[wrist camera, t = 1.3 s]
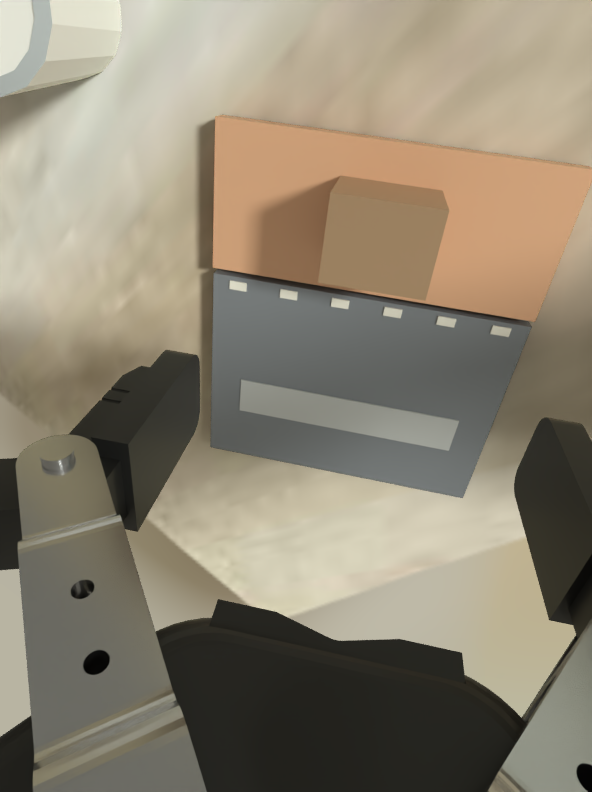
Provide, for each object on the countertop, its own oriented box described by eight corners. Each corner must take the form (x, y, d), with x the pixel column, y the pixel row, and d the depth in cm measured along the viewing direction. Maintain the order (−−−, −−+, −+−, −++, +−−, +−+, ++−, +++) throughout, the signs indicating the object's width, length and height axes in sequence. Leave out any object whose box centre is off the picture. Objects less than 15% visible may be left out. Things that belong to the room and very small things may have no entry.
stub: (588, 166, 24) (633, 187, 19) (530, 313, 28) (555, 360, 23) (222, 114, 26) (182, 123, 21) (219, 261, 30) (184, 295, 25)
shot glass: (72, -125, 22) (-48, -197, 16) (161, 46, 25) (86, 37, 19) (-28, -26, 24) (-163, -58, 19) (63, 118, 27) (-30, 129, 21)
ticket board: (527, 318, 28) (532, 327, 27) (460, 486, 36) (462, 499, 34) (220, 266, 30) (213, 273, 29) (215, 437, 37) (210, 447, 36)
